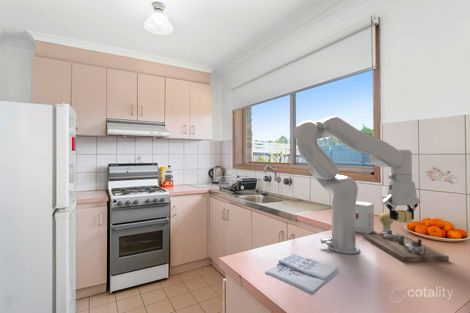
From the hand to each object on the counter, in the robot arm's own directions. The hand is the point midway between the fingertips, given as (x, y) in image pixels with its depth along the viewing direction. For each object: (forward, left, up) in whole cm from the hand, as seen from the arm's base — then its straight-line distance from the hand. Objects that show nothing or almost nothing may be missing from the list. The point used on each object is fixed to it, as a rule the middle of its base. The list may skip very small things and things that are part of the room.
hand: (401, 218), depth 105 cm
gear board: (0, 0, -13) cm, 13 cm away
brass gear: (0, 0, -1) cm, 1 cm away
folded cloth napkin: (-50, -19, -14) cm, 55 cm away
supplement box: (-3, +25, -13) cm, 28 cm away
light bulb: (+9, +23, -13) cm, 28 cm away
